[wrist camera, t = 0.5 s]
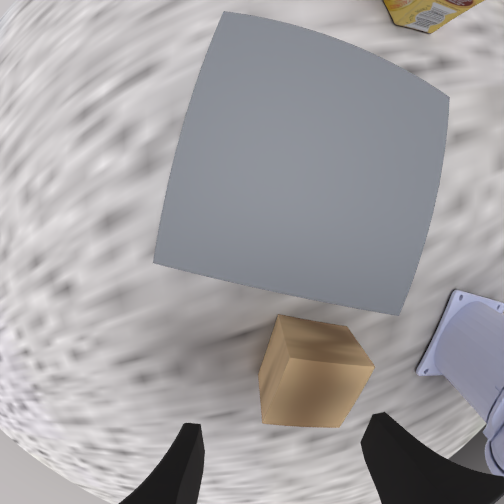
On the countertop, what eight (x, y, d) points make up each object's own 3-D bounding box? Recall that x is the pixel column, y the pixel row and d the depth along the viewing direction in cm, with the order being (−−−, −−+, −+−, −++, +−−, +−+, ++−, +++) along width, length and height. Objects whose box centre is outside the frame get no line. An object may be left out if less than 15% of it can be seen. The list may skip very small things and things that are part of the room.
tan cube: (346, 325, 18) (375, 366, 13) (321, 381, 19) (339, 427, 14) (278, 313, 17) (290, 357, 13) (258, 373, 18) (262, 423, 14)
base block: (424, 106, 14) (449, 97, 11) (378, 297, 17) (398, 315, 14) (226, 36, 13) (223, 11, 10) (168, 249, 16) (153, 262, 13)
